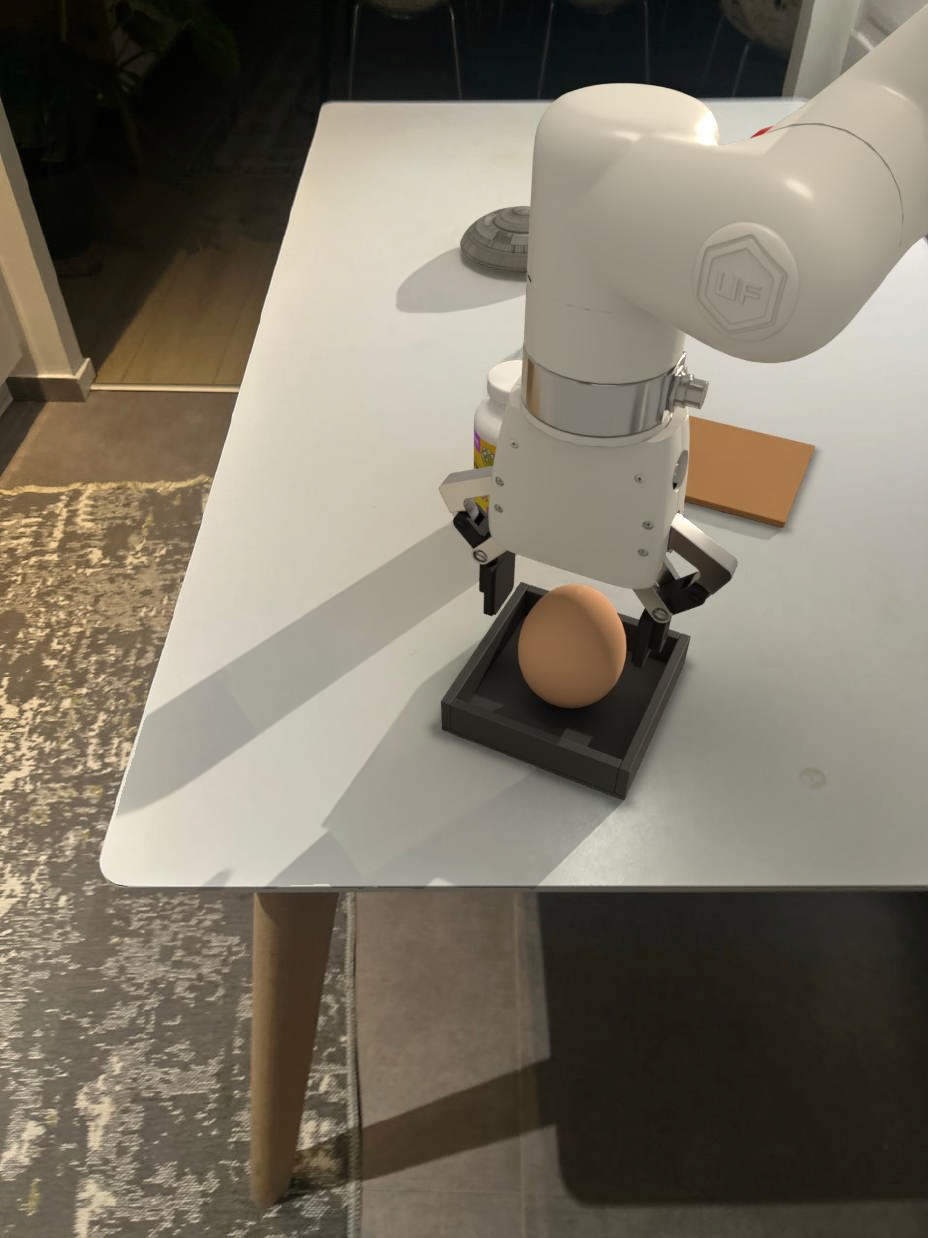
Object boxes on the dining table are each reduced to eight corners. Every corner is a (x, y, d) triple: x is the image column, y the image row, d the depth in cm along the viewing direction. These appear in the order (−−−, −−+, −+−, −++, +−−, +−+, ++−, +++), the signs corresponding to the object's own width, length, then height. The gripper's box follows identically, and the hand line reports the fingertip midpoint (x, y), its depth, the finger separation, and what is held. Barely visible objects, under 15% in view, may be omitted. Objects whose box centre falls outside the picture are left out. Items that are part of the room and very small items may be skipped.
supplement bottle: (460, 504, 76) (458, 364, 67) (530, 484, 78) (538, 344, 69) (496, 552, 72) (498, 408, 63) (570, 529, 74) (583, 386, 65)
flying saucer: (511, 293, 104) (513, 245, 100) (435, 250, 113) (434, 203, 109) (610, 259, 110) (615, 212, 106) (531, 220, 119) (533, 176, 115)
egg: (496, 681, 62) (498, 582, 56) (577, 642, 64) (588, 543, 58) (555, 749, 58) (565, 651, 51) (639, 705, 60) (658, 606, 54)
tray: (684, 664, 63) (691, 635, 61) (624, 800, 55) (629, 772, 53) (519, 609, 67) (520, 581, 65) (441, 729, 59) (440, 701, 57)
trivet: (813, 451, 81) (815, 445, 81) (783, 528, 74) (785, 522, 73) (681, 419, 85) (682, 413, 85) (639, 489, 77) (640, 483, 77)
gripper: (794, 384, 44) (723, 631, 57) (472, 309, 50) (470, 550, 62) (756, 466, 40) (687, 717, 52) (405, 373, 45) (417, 620, 57)
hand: (569, 625), depth 57 cm, fingers open, 9 cm apart
